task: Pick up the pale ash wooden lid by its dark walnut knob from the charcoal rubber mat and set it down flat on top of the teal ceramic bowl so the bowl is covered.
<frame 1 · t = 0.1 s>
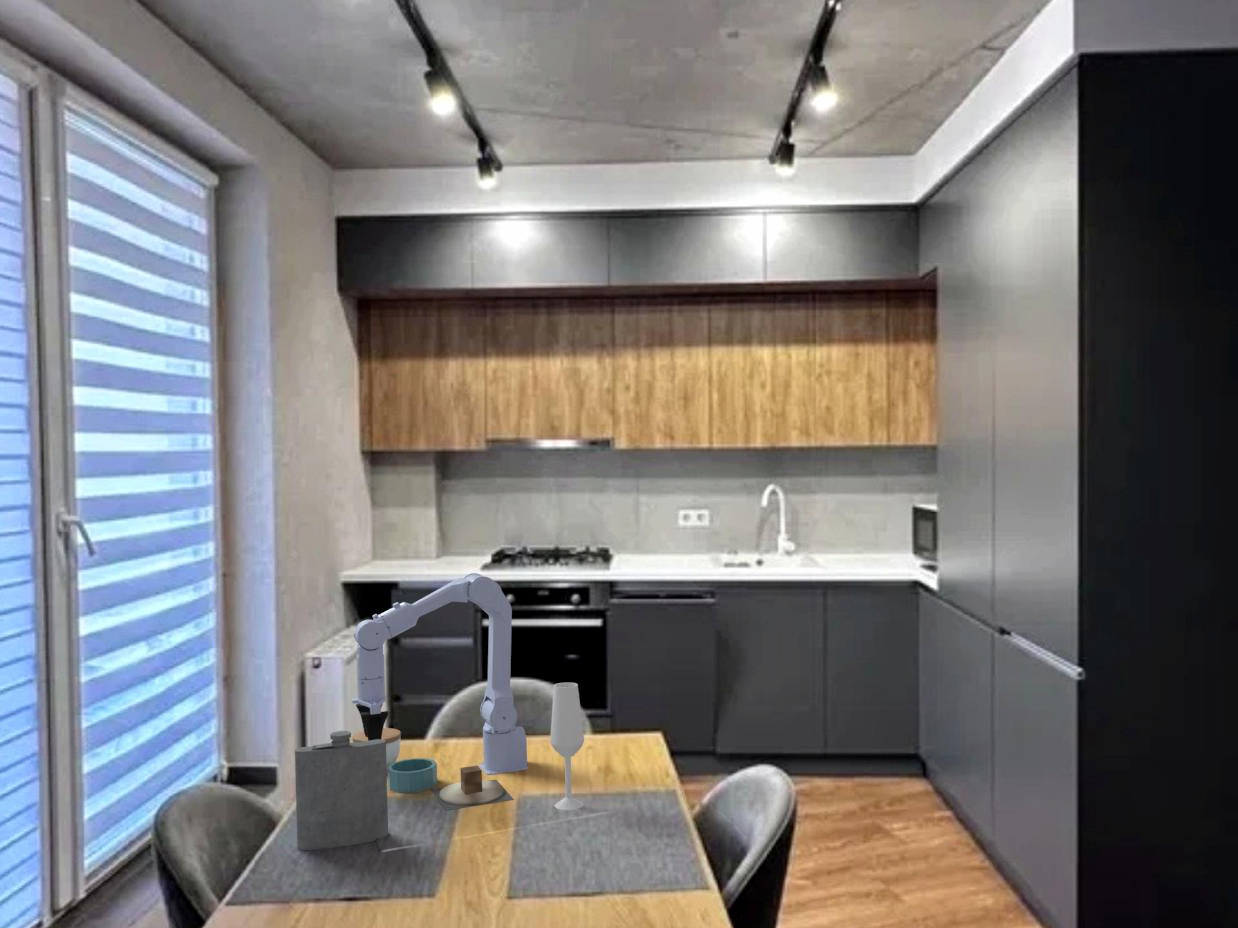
hand: (372, 740, 202), 10 cm above the table, tool pointing down, fingers open, 7 cm apart
champagne flute: (569, 807, 187), on the table
lidded jar: (377, 768, 216), on the table
mat: (471, 795, 195), on the table
bowl: (412, 786, 203), on the table
hip flask: (343, 843, 172), on the table
lid: (471, 794, 195), resting on mat
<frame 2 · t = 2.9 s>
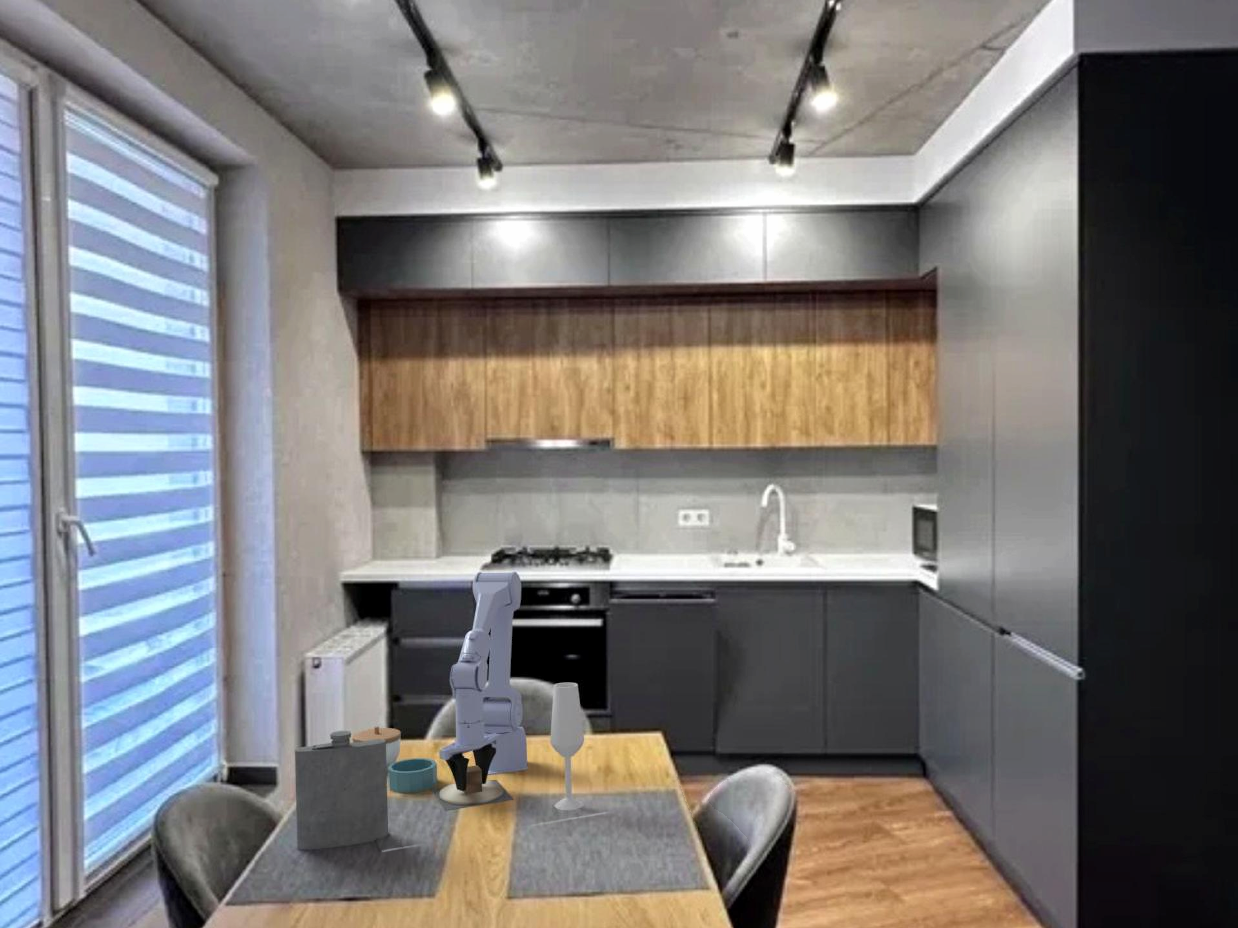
hand: (471, 786, 195), 2 cm above the table, tool pointing down, fingers closed on lid, 5 cm apart
lid: (471, 794, 195), resting on mat, touching gripper
everything else where it was.
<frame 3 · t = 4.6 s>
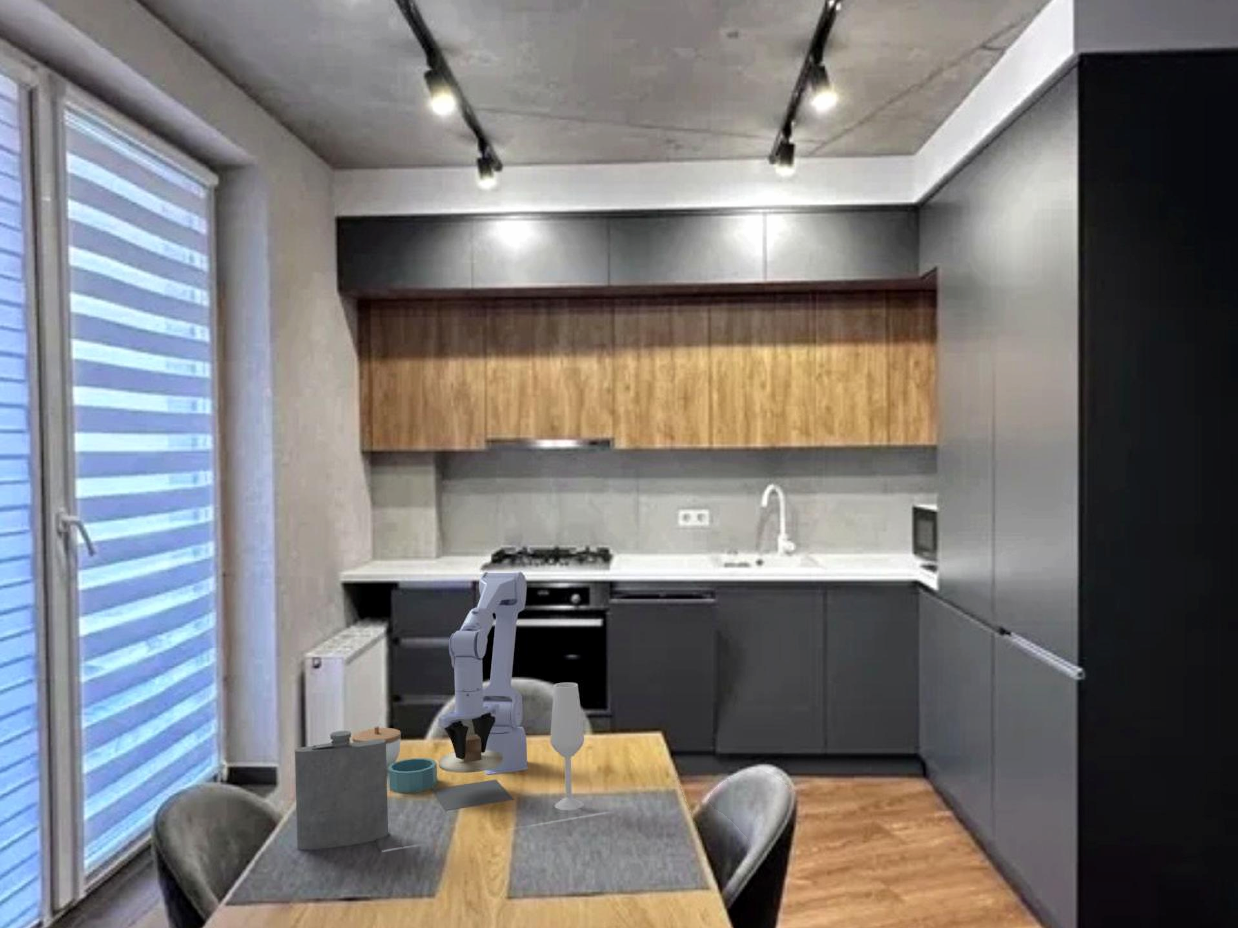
hand: (470, 754, 195), 8 cm above the table, tool pointing down, fingers closed on lid, 5 cm apart
lid: (470, 762, 195), point 7 cm above the table, touching gripper
everything else where it was.
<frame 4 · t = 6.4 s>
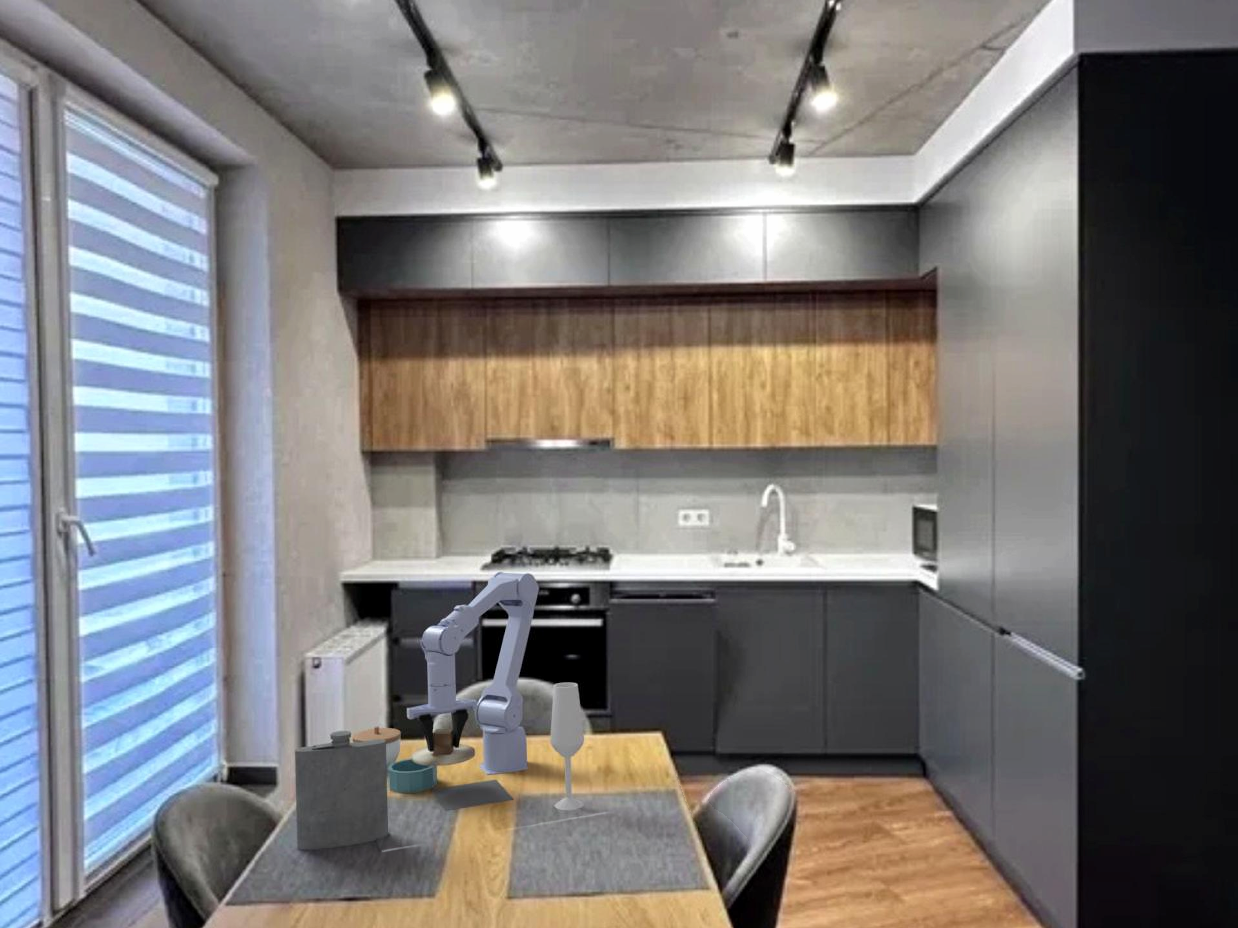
hand: (443, 748, 199), 9 cm above the table, tool pointing down, fingers closed on lid, 5 cm apart
lid: (443, 756, 199), point 7 cm above the table, touching gripper
everything else where it was.
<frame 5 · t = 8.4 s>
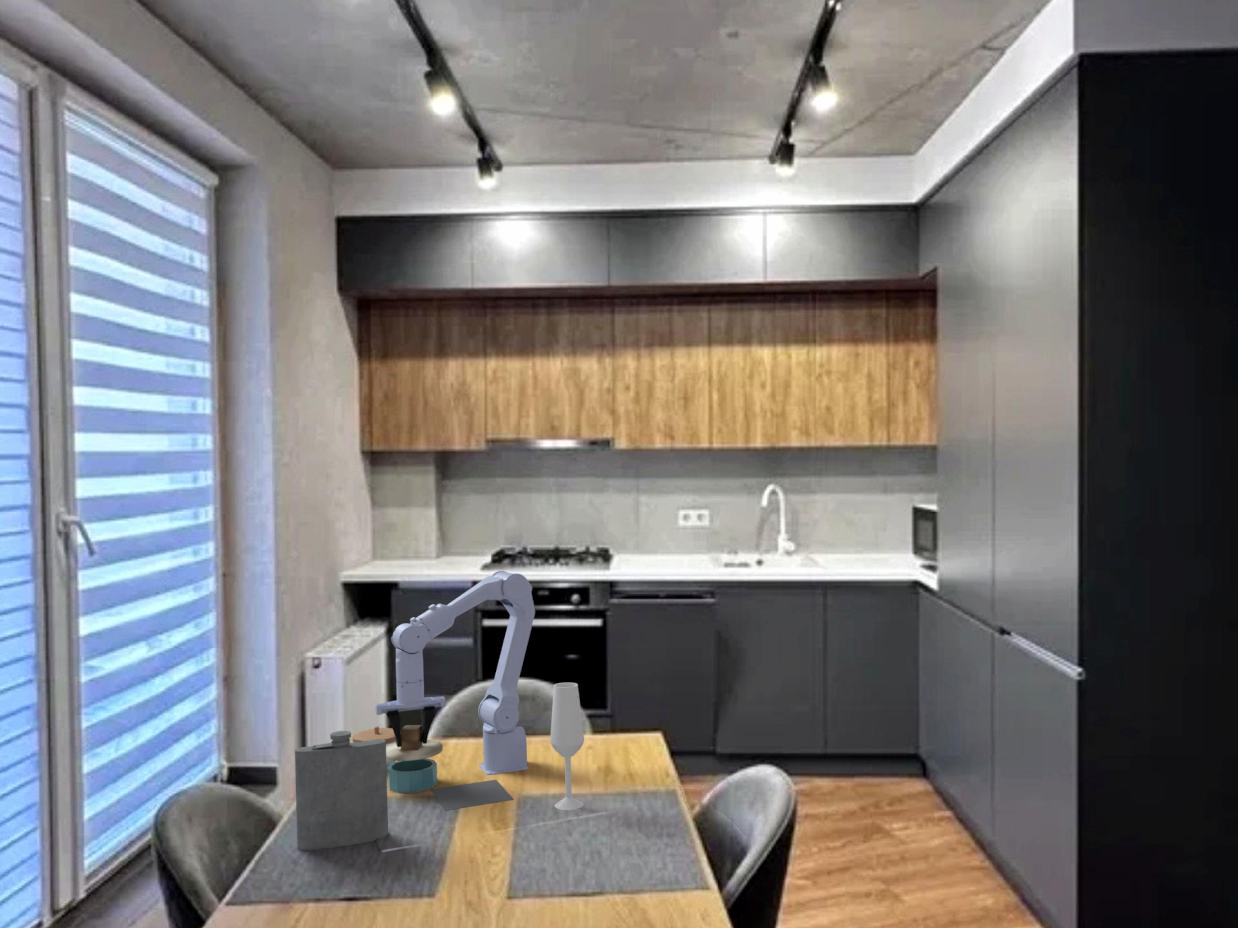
hand: (411, 744, 203), 9 cm above the table, tool pointing down, fingers closed on lid, 5 cm apart
lid: (411, 751, 203), point 7 cm above the table, touching gripper
everything else where it was.
when the fingers open (7 cm above the table, at t = 10.1 s): lid stays where it is, resting on bowl.
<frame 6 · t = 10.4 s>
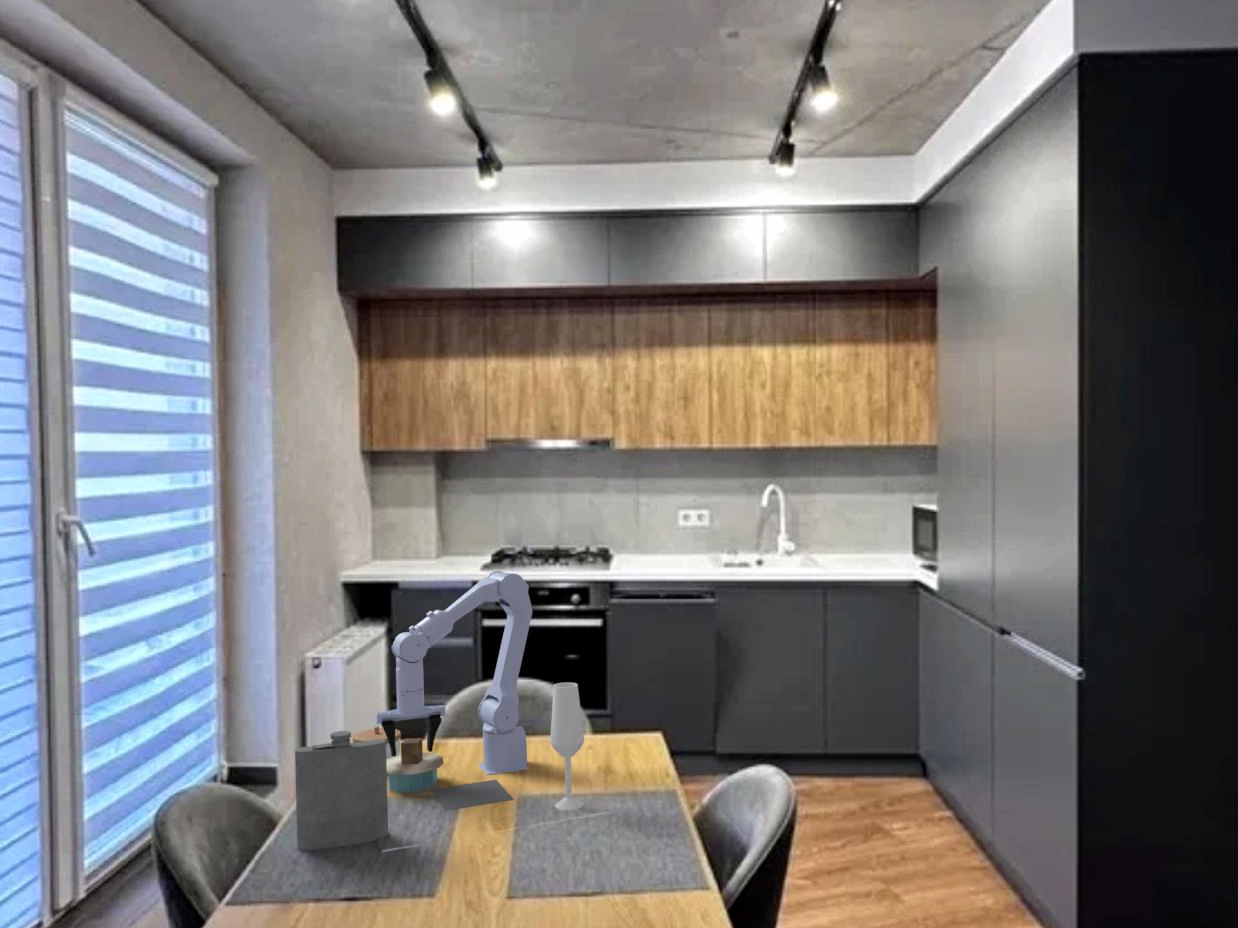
hand: (411, 752, 203), 7 cm above the table, tool pointing down, fingers open, 7 cm apart
lid: (412, 765, 203), point 4 cm above the table, touching bowl
everything else where it was.
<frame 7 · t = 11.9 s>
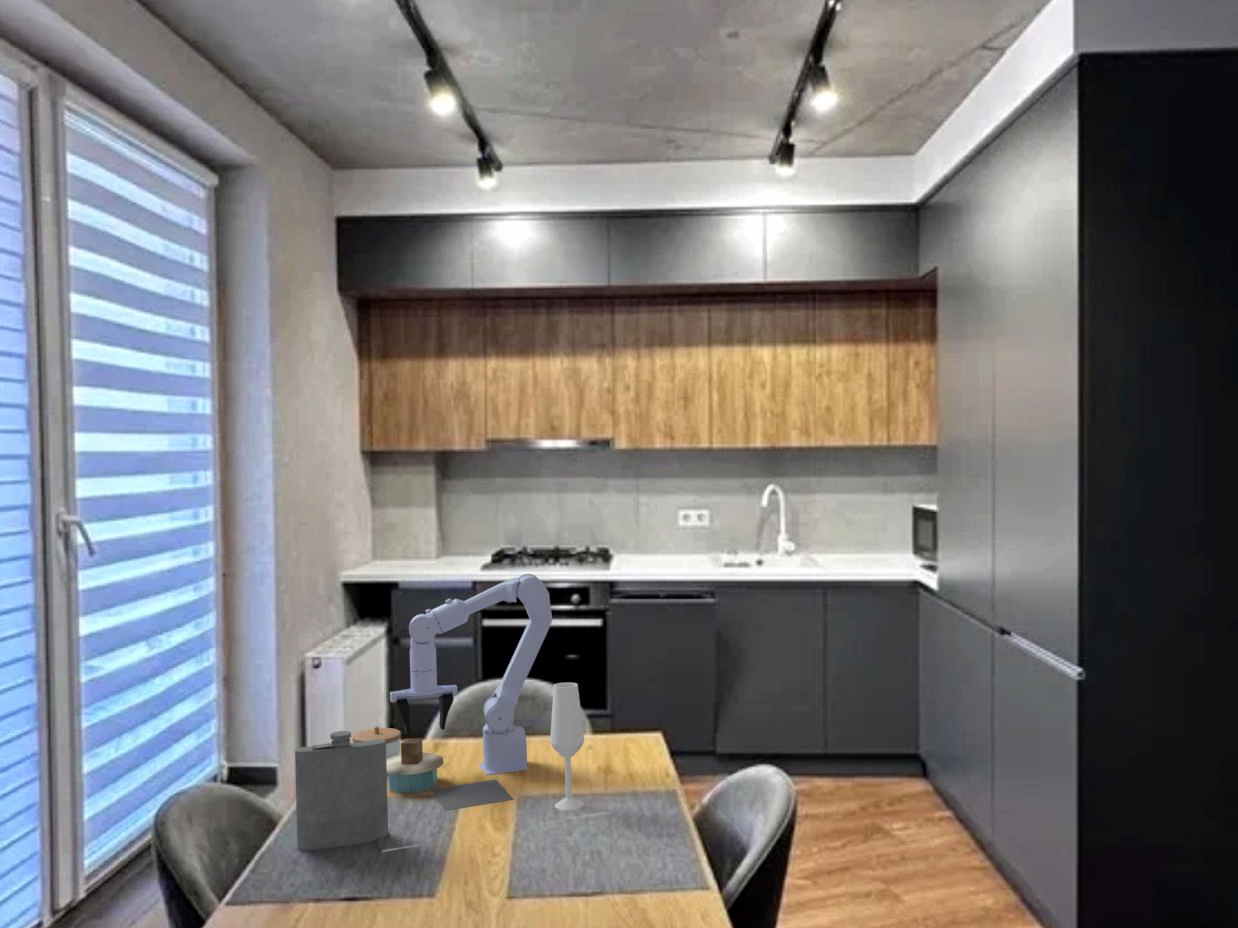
hand: (425, 730, 210), 10 cm above the table, tool pointing down, fingers open, 7 cm apart
nothing on the table moved.
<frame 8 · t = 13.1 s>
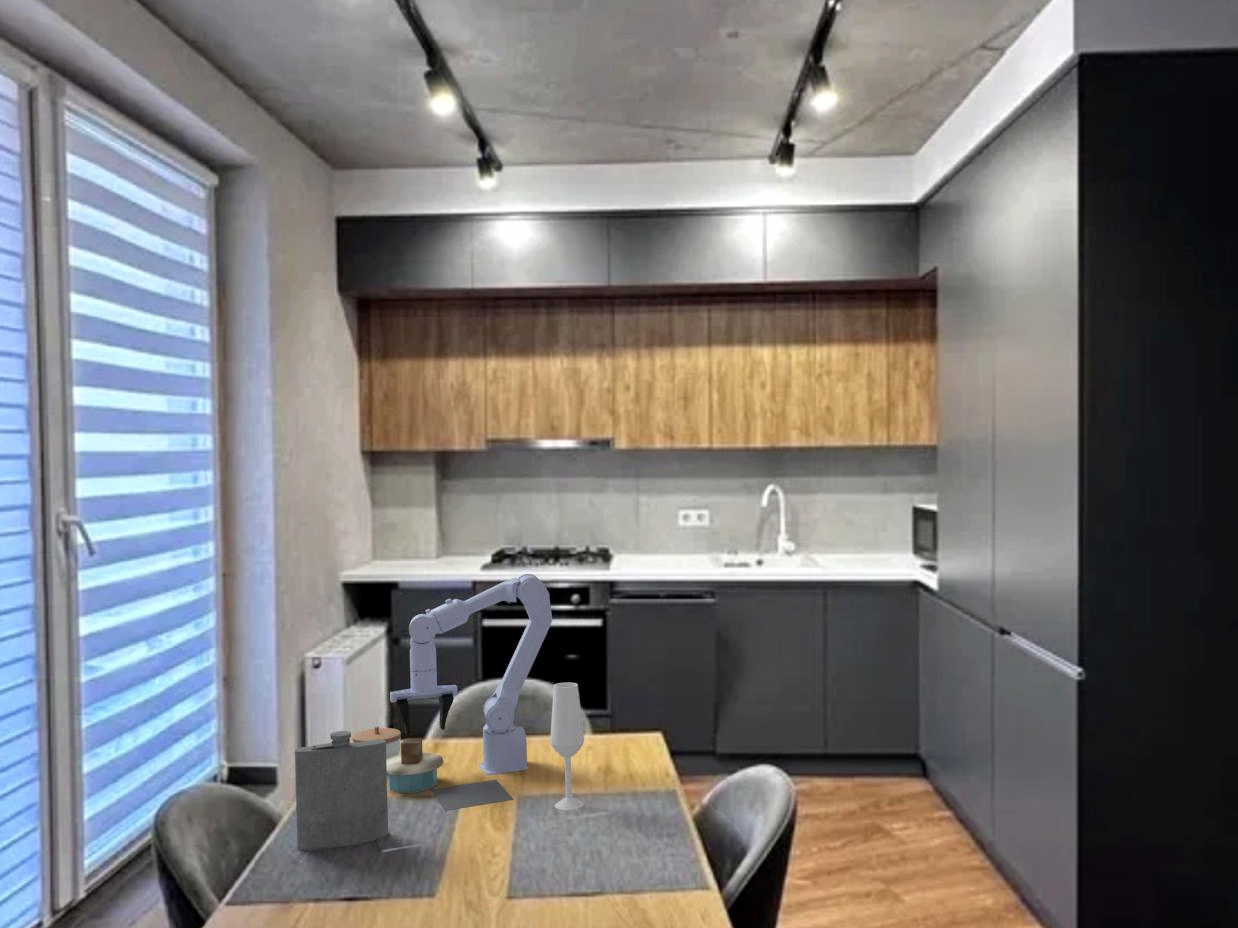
hand: (425, 730, 210), 10 cm above the table, tool pointing down, fingers open, 7 cm apart
nothing on the table moved.
at the end: lid 0.0 cm from the bowl (horizontally); lid point 4.5 cm above the table; lid tilted 0° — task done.
